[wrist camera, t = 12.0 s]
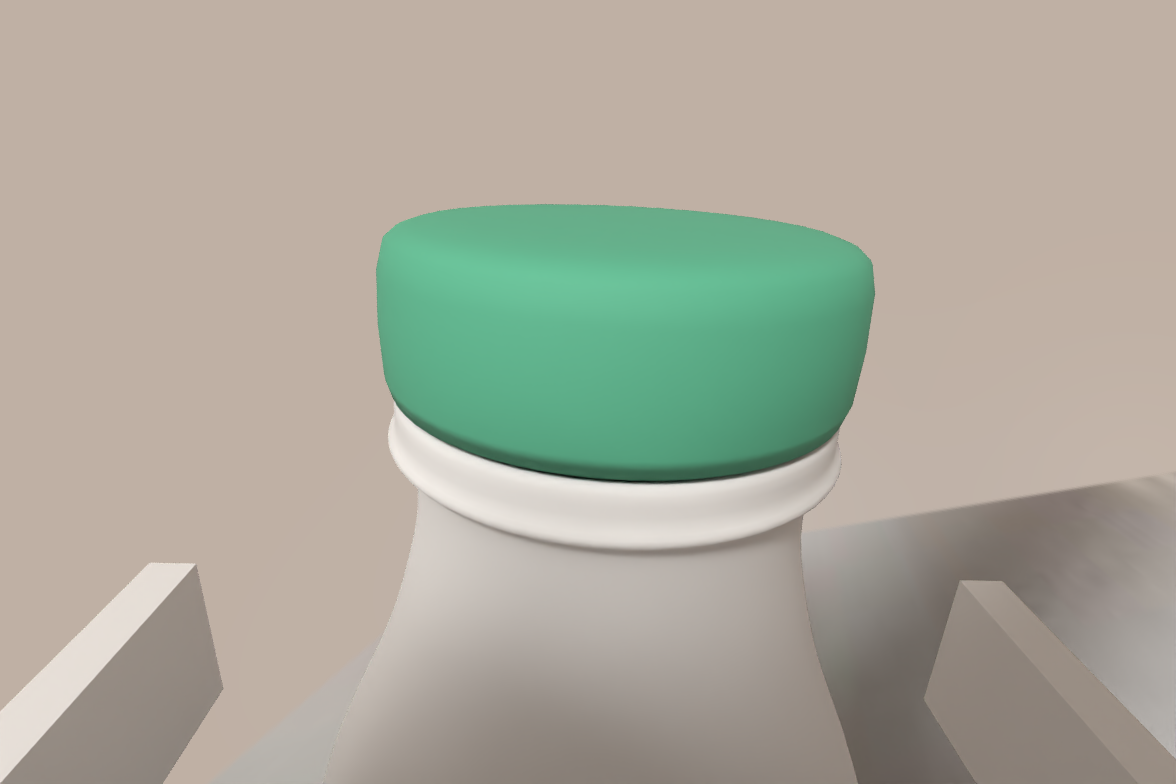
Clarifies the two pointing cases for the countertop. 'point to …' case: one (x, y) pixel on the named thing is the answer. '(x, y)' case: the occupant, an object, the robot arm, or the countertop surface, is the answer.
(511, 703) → the milk bottle
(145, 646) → the robot arm
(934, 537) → the countertop surface
